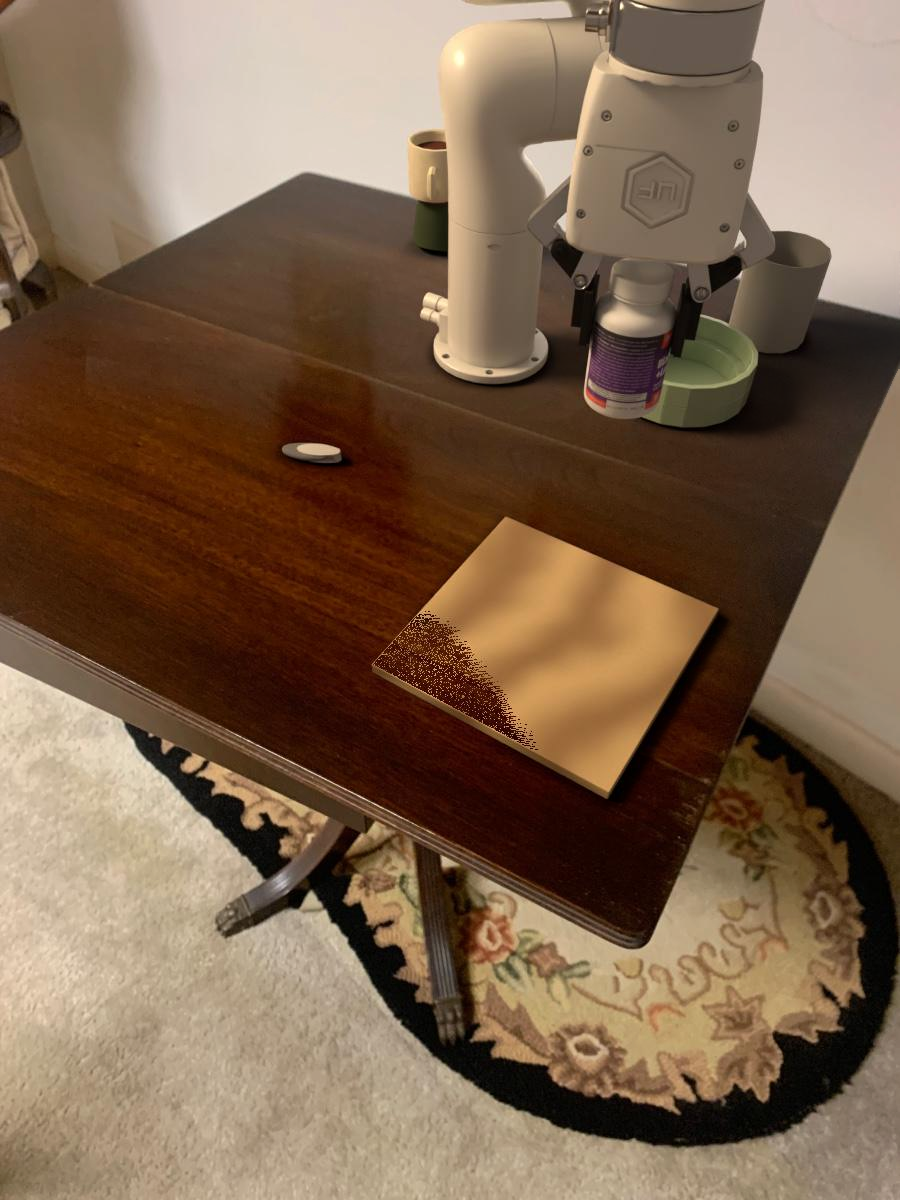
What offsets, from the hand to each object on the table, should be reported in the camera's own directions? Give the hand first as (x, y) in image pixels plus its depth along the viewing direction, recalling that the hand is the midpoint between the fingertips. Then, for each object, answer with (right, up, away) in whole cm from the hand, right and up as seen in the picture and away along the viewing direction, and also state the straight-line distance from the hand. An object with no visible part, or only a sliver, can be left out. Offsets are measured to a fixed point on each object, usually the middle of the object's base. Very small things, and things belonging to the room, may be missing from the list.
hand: (631, 338), depth 60 cm
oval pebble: (-26, -4, +26) cm, 37 cm away
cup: (+24, +13, +41) cm, 49 cm away
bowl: (+12, +5, +34) cm, 36 cm away
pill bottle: (0, -3, +4) cm, 5 cm away
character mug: (-14, +28, +55) cm, 64 cm away
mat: (-4, -21, +10) cm, 24 cm away
